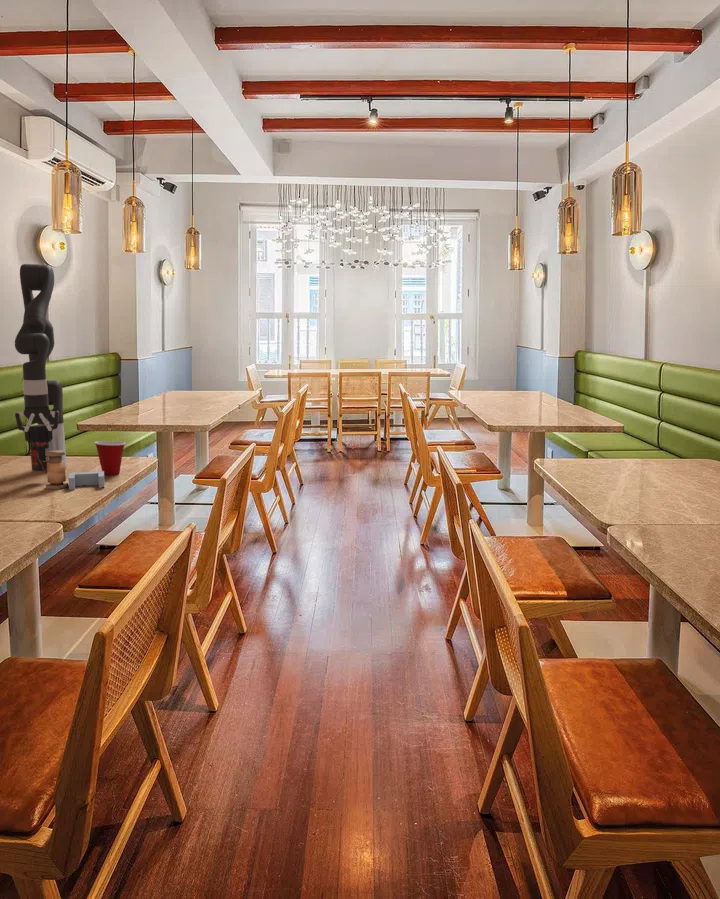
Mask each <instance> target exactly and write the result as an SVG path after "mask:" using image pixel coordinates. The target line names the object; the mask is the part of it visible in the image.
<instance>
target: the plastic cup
mask: <svg viewBox="0 0 720 899" xmlns="http://www.w3.org/2000/svg"><path fill="white" fill-rule="evenodd" d="M94 445H95V447H96V451H97V453H98V459H99V463H100V464H99V465H100V468H101V471H104V476H118V475H120V472H121V466H122V458H123V452H124V448H125V445H126V442H125V441H118V440H117V441H115V440H98V441H94Z"/></svg>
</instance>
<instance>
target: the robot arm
mask: <svg viewBox="0 0 720 899" xmlns="http://www.w3.org/2000/svg"><path fill="white" fill-rule="evenodd" d="M19 279H20V281H19V282H20V286H21V287H20V288H21V295H22V301H23V306H24V313H23V320H22V324H21V327H20V329H19V330H18V332H17V334H16V336H15V339H14V348H15V350H16V352H17V353H19V354H20V355H28V360H29V361H27V362H24V363H23V364H22V377H23V385H22V386H23V390H22V391H23V392H22V393H23V400H24V401H23V402H24V410H23V411H21V412H20V411H19V412H18V411H16V412H15V414H14V417H15V422H16V425H17V429H18V430H19V431H22V432H24V440H25V442H27V443H28V444H30V436H29V427H30V426H32V424H36V423H37V424H36V425H45V426H47V429H48V442H49V451H56V450H61V451H65V455H62V461H64V462H65V467H66V468H67V455H66V454H67V453H66V442H65V440H66V439H65V423H64V407H63V406H64V404H63V403H64V402H63V401H64V399H63V391H64V390H63V384H62V382H61V381H59V380H58V379H57V380H56V379H55V380H49V379H48V380H47V374H46V372H47V370H46V364H47V360H48V359H49V357H50V355H51V354H52V352H53V350H54V347H55V336H54V335H55V334H54V332H55V331H54V327H53V324H52V323H51V321H50V320H49V319H48V318H47V317H48V316H47V313H48V309H49V305H50V301H51V299H52V295H53V292H54V291H53V290H54V288H55V287H54V286H55V272H54V270H53V267H52V266H51V265H49V264H45V263H43V264H39V263H38V264H37V263H22V264H21V266H20V268H19ZM33 291H34V292H37V291H39V292H38V294H37V295H36V296H35V297H34V293H33ZM50 406H53V407H52V409H50ZM23 416H25V417H26V419H27V422H26V425H25V426H23V423H22V422H23V421H22V418H24V417H23Z"/></svg>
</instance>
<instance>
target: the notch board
mask: <svg viewBox="0 0 720 899" xmlns="http://www.w3.org/2000/svg"><path fill="white" fill-rule="evenodd" d="M67 480H68V491H74V490H73V489H75V490H76V487H83V486H82V485H87V486H98V489H103V488H102V487H104V485H105V484H106V483H105V475H104V471H102V470H101V471H88V472H87V471H86V472H83V471H82V472H70V473H69V474H68V479H67ZM97 484H99V485H97ZM75 486H76V487H75Z"/></svg>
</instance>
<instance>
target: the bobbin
mask: <svg viewBox="0 0 720 899" xmlns="http://www.w3.org/2000/svg"><path fill="white" fill-rule="evenodd" d="M65 452H66V450H65V451H61V450H56V451H47V452H45V456H49V462H47V470H46V473H47V483H46V484H45V489H46V488H47V489H46V490H53V489H54V490H62V489H61V488H64V489H66V488H65V487H67V488H69V482H66V479H67V477H66V468H65V462H64V461H62V455H65Z"/></svg>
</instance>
